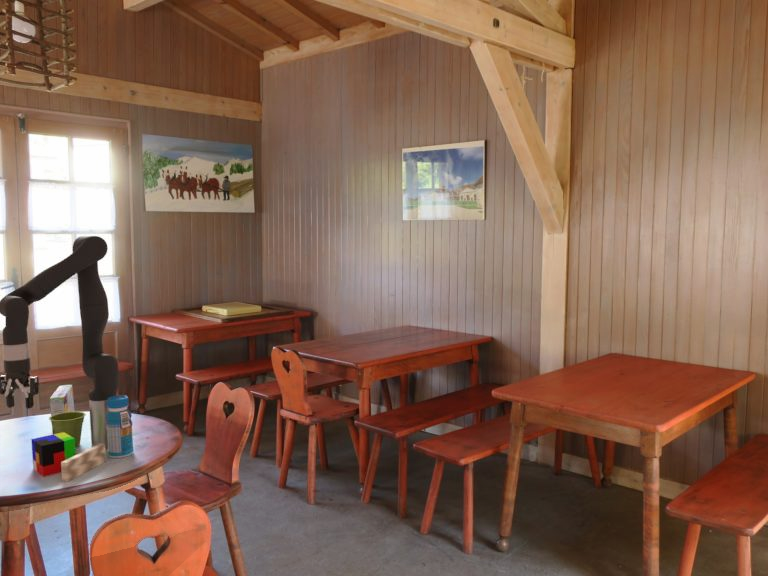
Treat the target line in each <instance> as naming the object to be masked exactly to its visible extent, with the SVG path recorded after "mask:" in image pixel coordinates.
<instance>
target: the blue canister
mask: <svg viewBox="0 0 768 576" xmlns="http://www.w3.org/2000/svg"><path fill="white" fill-rule="evenodd" d="M107 406H108V409H110V410H109V411H108V413H107V415H106V420H107V423H106V429H107V443H108V448H107V456H108V457H109V458H112V459H120V458H121V459H122V458H126V457H129V456H132V455H133V453H134V444H133V441H134V440H133V421H132V413H131V410H129V408H128V407H129V397H128V396H127V395H117V396H113V397H109V398H108V399H107Z"/></svg>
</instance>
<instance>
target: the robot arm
mask: <svg viewBox="0 0 768 576" xmlns="http://www.w3.org/2000/svg"><path fill="white" fill-rule="evenodd" d="M107 253H108V244H107V242H106V240H105V239H104V238H102V237H101V236H98V235H94V234H93V235H90V234H89V235H87V234H85V235H80V236H79V237H76V239H75V240H74V241H73V244H72V253H71V254H70V255H68V256H67V257H65V258H64V259H62V260H61V261H59V262H57V263H55V264H53V265H52V266H49V267H47V268H46V269H44V270H42V271H41V272H40V273H37V275H35V276H34V277H33V278H31V279H30V280H28V281H27V283H25V284H24V285H21V286H19V287H18V288H16V289H14V290H13V291H11V292H10V293H8V294H6V295H5V296H4V297H2V298H1V299H0V315H2V316H4V317H5V327H4V328H3V329H2V343H3V344H2V347H3V348H2V357H3V359H2V360H3V370H4V371H3V372H4V373H5V374H4V375H0V395H3V396H4V397H5V401H6V406H7V408H8V409H10V408H14V407H15V396H14V393H15V391H16V390H17V389H18V390H20V391H21V392H22V393H23V395H24V396H25V397H24V398H25V408H26V409H27V410H29V409H32V408H33V407H34V396H36V395H38V394H39V393H40V392H39V390H40V389H39V387H40V386H39V384H40V382H39V381H40V380H39V376H38V375H37V376H31V374H30V372H31V370H32V367H31V366H32V365H31V354H30V346H29V339H28V337H29V335H28V325H29V316H30V309H29V308H30V307H29V306H30V305H32V304H33V303H36V302H40V301H41V300H43V299H45V298H46V297H47V296H48V295H50V294H51V293H52V292H54V290H56V289H57V288H59V286H61V285H62V284H64V283H65V282H66V281H67V280H69V279H70V278H72V277H73V276H75V275H76V274H77V275H76V276H77V287H78V289H77V290H78V302H79V303H78V304H79V315H80V316H79V317H80V323H81V325H80V326H81V335H82V358H81V359H82V361H81V363H82V364H81V365H82V371H83V373H84V375H85V376H86V377H88V378H90V379H94V388H93V389H91V390H89V392H88V408H89V423H90V439H91V442H90V443H91V447H93V446H96V445H98V444H105V449H108V443H107V429H106V423H107V420H106V415H107V413H108V411H109V410H110V409H108V406H107V399H108V398H109V397H113V396H118V394H117V393H118V390H119V386H120V384H119V383H120V382H119V381H120V379H119V378H120V377H119V376H120V374H119V363H118V360H117V358H116V357H115V356H114V355H112V354H108V353H104V346H103V335H104V332H105V330H106V327H107V324H108V321H109V316H110V315H109V311H110V310H109V300H108V295H107V293H106V290H105V288H104V285H103V283H102V281H101V278H100V274H99V264H98V262H100V260H102V259H103V258H105V256H106V255H107Z"/></svg>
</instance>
